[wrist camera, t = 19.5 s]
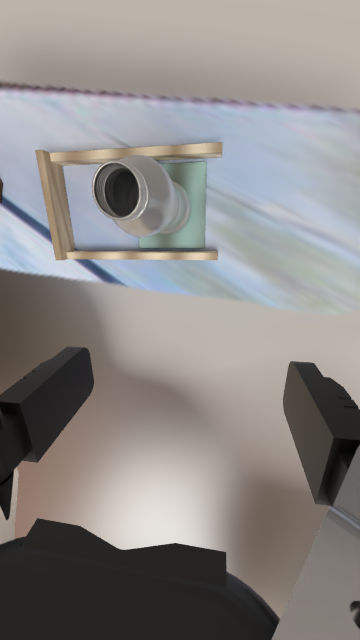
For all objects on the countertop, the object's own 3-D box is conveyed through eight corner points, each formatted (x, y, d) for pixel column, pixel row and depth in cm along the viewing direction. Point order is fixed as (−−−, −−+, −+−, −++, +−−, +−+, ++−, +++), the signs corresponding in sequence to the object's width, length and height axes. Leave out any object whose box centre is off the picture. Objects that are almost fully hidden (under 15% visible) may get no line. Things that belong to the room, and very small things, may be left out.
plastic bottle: (156, 239, 37) (93, 252, 19) (143, 191, 35) (56, 152, 17) (198, 227, 36) (173, 229, 17) (186, 176, 34) (144, 116, 15)
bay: (222, 148, 32) (222, 138, 28) (217, 257, 37) (217, 261, 33) (54, 158, 36) (35, 150, 32) (70, 257, 41) (55, 260, 37)
